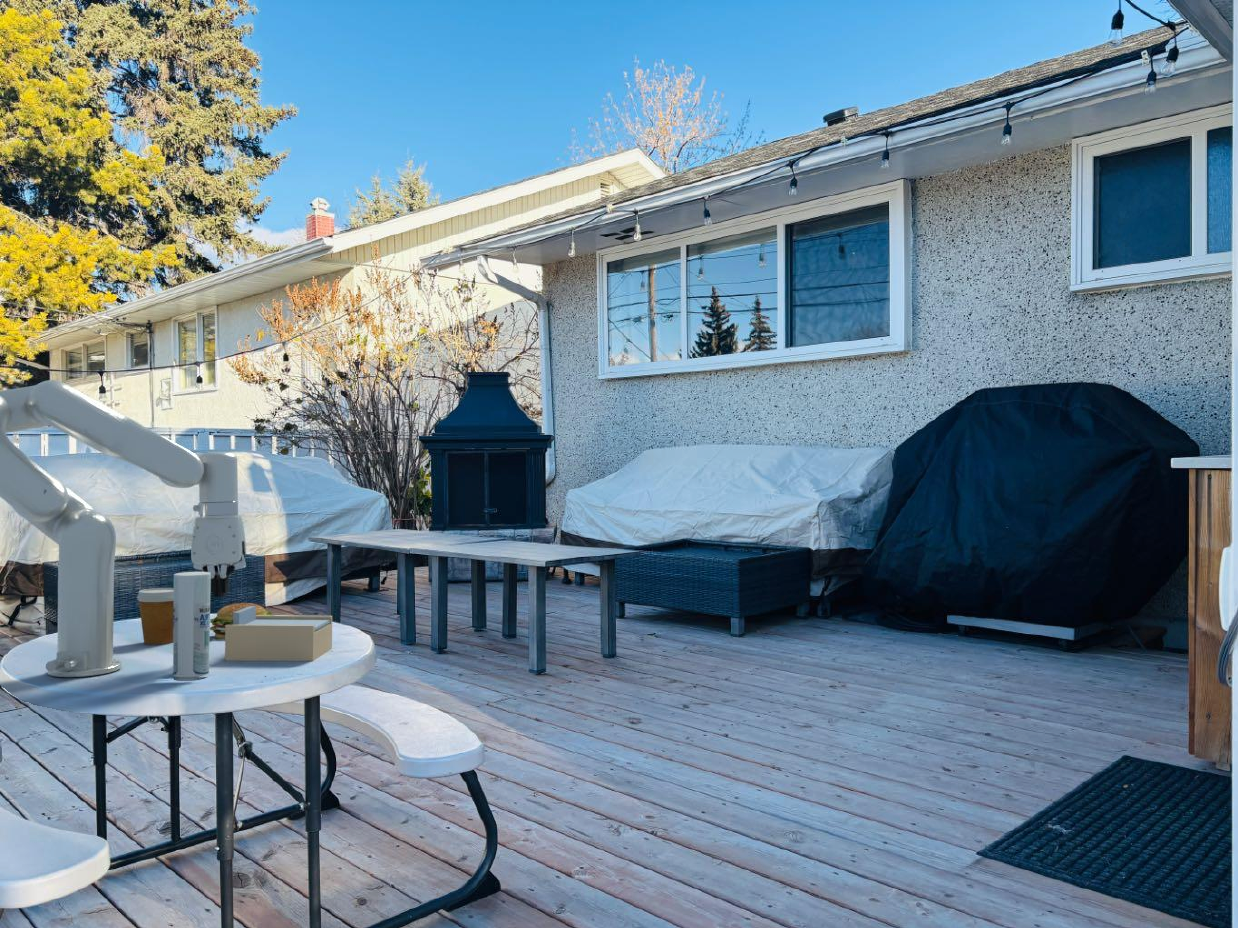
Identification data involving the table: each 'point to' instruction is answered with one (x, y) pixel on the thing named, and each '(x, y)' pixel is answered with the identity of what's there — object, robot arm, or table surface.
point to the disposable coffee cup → (157, 615)
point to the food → (231, 617)
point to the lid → (249, 618)
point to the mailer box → (278, 640)
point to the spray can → (191, 625)
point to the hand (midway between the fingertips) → (220, 596)
